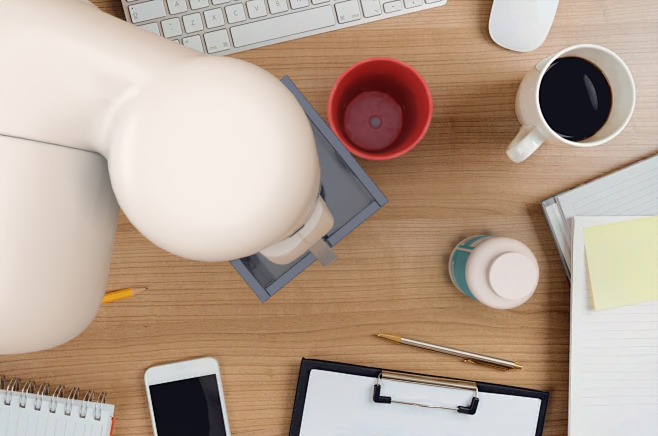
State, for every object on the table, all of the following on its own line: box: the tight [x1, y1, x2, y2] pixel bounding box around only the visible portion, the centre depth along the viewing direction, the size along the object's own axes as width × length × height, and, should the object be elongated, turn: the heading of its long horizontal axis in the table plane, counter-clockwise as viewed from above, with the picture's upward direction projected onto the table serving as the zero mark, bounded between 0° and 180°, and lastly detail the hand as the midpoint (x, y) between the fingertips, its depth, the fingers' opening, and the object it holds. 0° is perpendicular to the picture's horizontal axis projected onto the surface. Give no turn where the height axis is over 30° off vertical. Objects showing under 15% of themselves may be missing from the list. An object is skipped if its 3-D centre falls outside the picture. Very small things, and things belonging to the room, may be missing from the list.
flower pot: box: [326, 56, 434, 162], centre depth 67 cm, size 11×11×10 cm
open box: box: [228, 74, 390, 304], centre depth 50 cm, size 13×13×5 cm
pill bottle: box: [448, 234, 540, 310], centre depth 66 cm, size 8×7×14 cm
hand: (279, 191), depth 51 cm, fingers closed on sponge, 4 cm apart
